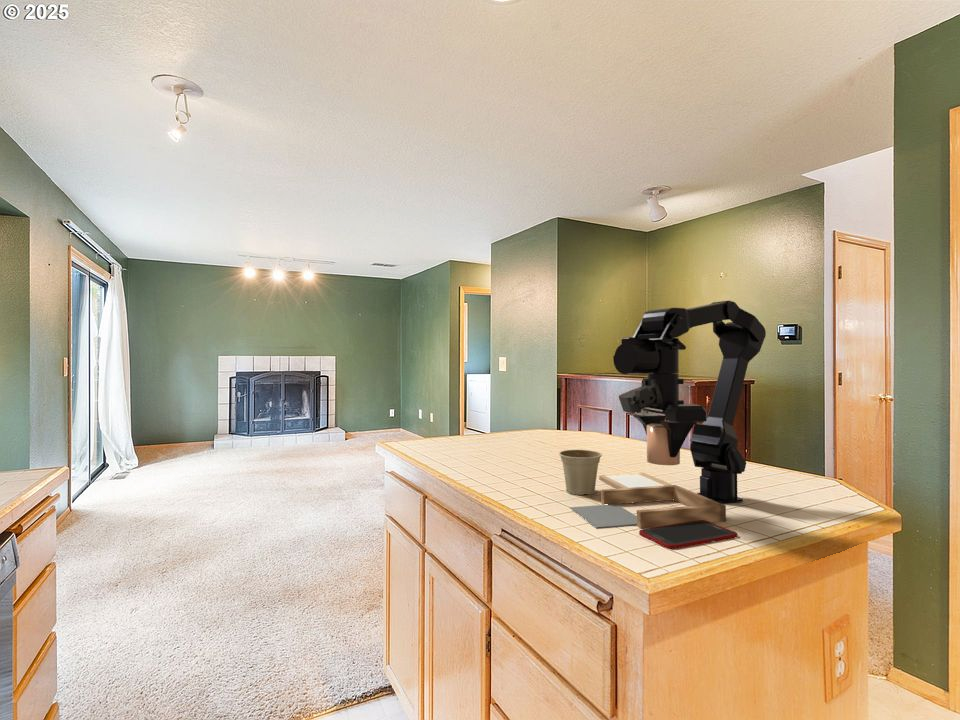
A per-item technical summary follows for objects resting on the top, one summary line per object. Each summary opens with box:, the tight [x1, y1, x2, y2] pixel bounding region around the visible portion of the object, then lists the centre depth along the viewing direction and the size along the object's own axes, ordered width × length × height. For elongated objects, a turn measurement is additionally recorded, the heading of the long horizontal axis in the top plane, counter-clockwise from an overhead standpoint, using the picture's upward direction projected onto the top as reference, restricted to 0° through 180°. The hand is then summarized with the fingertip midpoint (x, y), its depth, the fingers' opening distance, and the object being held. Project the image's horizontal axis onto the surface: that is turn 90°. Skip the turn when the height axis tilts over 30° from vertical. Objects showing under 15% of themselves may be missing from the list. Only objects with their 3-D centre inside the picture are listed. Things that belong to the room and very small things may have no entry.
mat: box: [569, 504, 637, 529], centre depth 92 cm, size 10×12×1 cm
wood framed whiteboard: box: [598, 472, 673, 489], centre depth 114 cm, size 17×12×1 cm
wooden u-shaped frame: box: [600, 484, 727, 529], centre depth 95 cm, size 17×15×3 cm
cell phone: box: [638, 520, 739, 550], centre depth 82 cm, size 8×15×1 cm, turn 111°
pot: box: [646, 423, 681, 466], centre depth 95 cm, size 6×6×7 cm
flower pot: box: [558, 449, 603, 496], centre depth 110 cm, size 9×9×9 cm
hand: (663, 454), depth 95 cm, fingers closed on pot, 6 cm apart
